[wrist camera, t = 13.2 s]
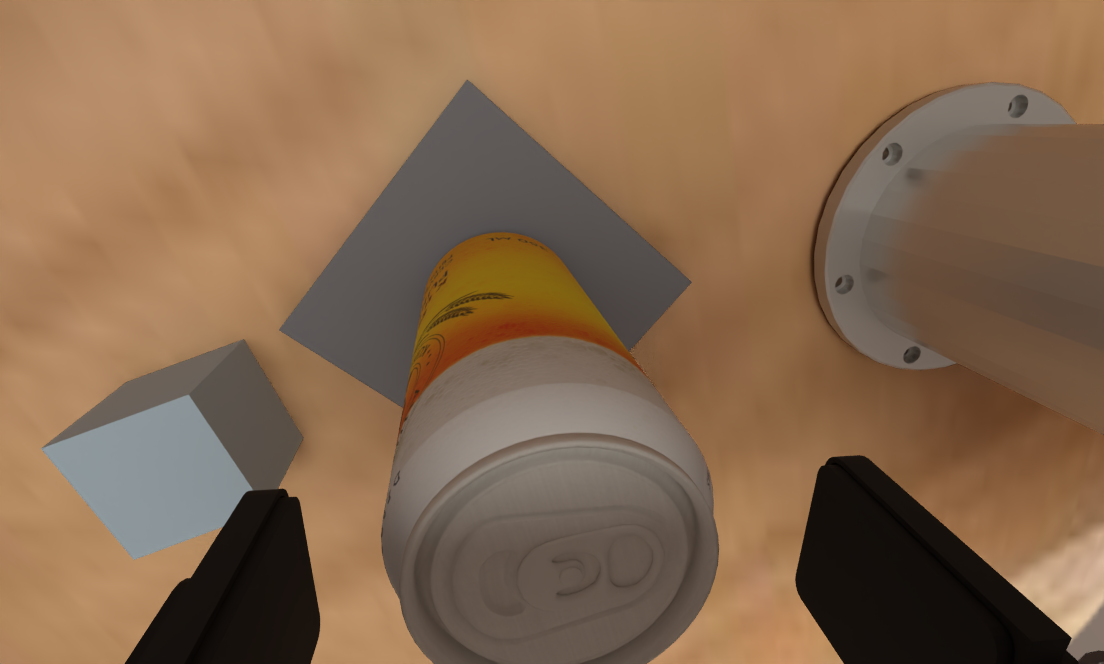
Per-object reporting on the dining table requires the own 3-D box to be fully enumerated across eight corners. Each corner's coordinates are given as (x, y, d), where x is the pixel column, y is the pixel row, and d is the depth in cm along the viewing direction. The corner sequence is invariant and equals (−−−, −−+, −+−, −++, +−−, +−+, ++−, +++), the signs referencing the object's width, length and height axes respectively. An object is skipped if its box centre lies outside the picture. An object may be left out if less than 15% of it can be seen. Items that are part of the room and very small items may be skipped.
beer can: (410, 239, 22) (327, 459, 8) (565, 218, 22) (746, 386, 8) (438, 380, 24) (414, 746, 10) (578, 357, 24) (738, 671, 11)
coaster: (686, 278, 24) (691, 282, 24) (513, 470, 27) (514, 477, 26) (467, 80, 20) (467, 79, 20) (283, 325, 23) (278, 329, 22)
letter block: (127, 381, 23) (40, 448, 18) (244, 338, 23) (188, 394, 18) (197, 479, 25) (136, 562, 20) (305, 439, 25) (269, 513, 20)
